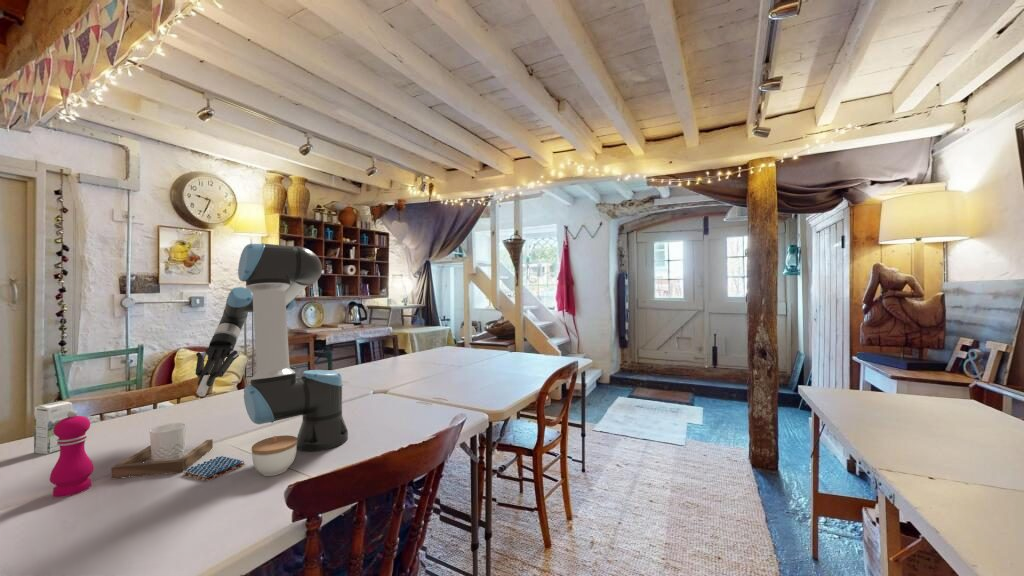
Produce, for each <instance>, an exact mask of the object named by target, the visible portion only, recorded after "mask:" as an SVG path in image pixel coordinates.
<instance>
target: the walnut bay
mask: <svg viewBox="0 0 1024 576" xmlns="http://www.w3.org/2000/svg"><path fill="white" fill-rule="evenodd" d="M213 441H214V440H213V439H211V438H210V439H205V440H204V441H203V442H202V443H200V444H199V445H197V446H196V447H195V448H194V449H192V450H191V451H188V452H187V453H186V454H184V456H183V457H182V458H181V459H177V460H166V461H155V462H152V461H148V459H149V458H150V459H152V458H151V457H152V455H151V444H150V445H148V446H147V447H145V448H143V449H141V450H139V451H138V452H136V453H135V454H133V455H131V456H129V457H128V458H126V459H124V460H122V461H120V462H119V463H117V464H116V465H114V466H112V467H111V472H110V473H111V474H110V475H111V479H112V478H117V479H123V478H122V477H127V478H132V477H131V476H137V477H144V476H143V475H147V476H155V475H156V474H157V475H164V474H165V473H167V474H173V473H174V474H175V473H184V472H185V471H184V469H187V470H188V469H189V468H191V467H192V465H194V464H195V463H196V462H198V461H199V460H200V459H202V458H203V457H205V455H207V454H208V453H209V452H211V451H212V450H213V449H212V448H213V447H214V445H213ZM211 449H212V450H211ZM210 450H211V451H210ZM207 452H208V453H207ZM206 453H207V454H206ZM202 456H203V457H202ZM150 459H149V460H150ZM146 460H147V461H146ZM197 460H198V461H197ZM143 462H144V463H143ZM193 463H194V464H193ZM129 476H130V477H129ZM112 480H113V479H112Z"/></svg>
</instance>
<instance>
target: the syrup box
mask: <svg viewBox="0 0 1024 576" xmlns="http://www.w3.org/2000/svg"><path fill="white" fill-rule="evenodd" d="M72 410H73V403H72V402H70V401H66V400H65V401H64V400H63V401H62V400H60V401H59V400H58V401H54V402H50V403H45V404H40V405H37V406H34V418H33V419H34V421H33V422H34V423H33V425H34V426H33V427H34V428H33V429H34V431H33V435H34V436H33V453H34V454H41V455H42V454H43V455H49V454H52V453H56V452H60V446H58V445H57V439H59V437H57V436H56V435H55V434H54V427H55V425H56V424H57V423H58V422H59V421H60V420H62V419H65V418H67V413H68V412H69V411H72Z"/></svg>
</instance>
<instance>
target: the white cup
mask: <svg viewBox="0 0 1024 576" xmlns="http://www.w3.org/2000/svg"><path fill="white" fill-rule="evenodd" d="M186 437H187V423H185V422H172V423H167V424H162V425H158V426H155V427H153V428H151V429H150V430H149V439H150V440H149V442H150V445H151V455H152V458H151V462H155V461H166V460H177V459H181V458H182V457H183V456H185V450H186V449H185V447H186Z"/></svg>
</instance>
